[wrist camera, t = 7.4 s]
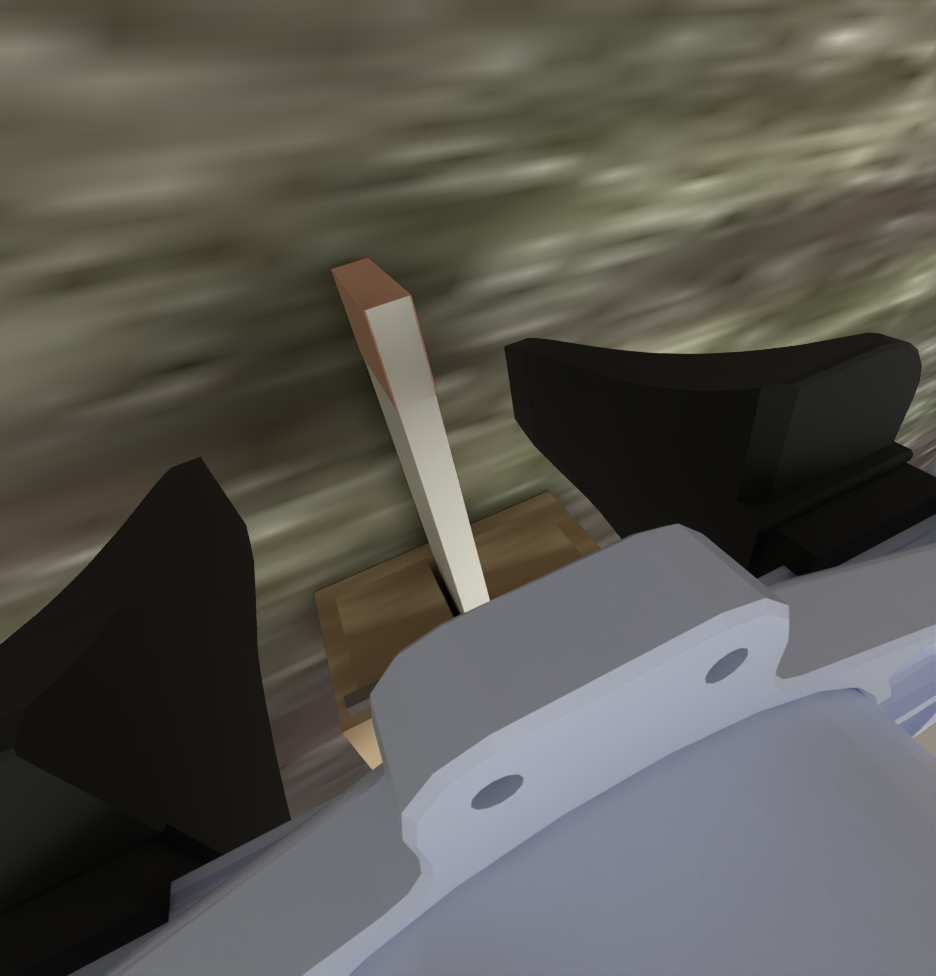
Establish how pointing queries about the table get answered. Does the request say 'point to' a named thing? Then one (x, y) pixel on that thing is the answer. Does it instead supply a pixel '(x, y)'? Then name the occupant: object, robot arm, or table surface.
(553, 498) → the ticket box
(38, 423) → the table surface
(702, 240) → the table surface
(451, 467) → the ticket
